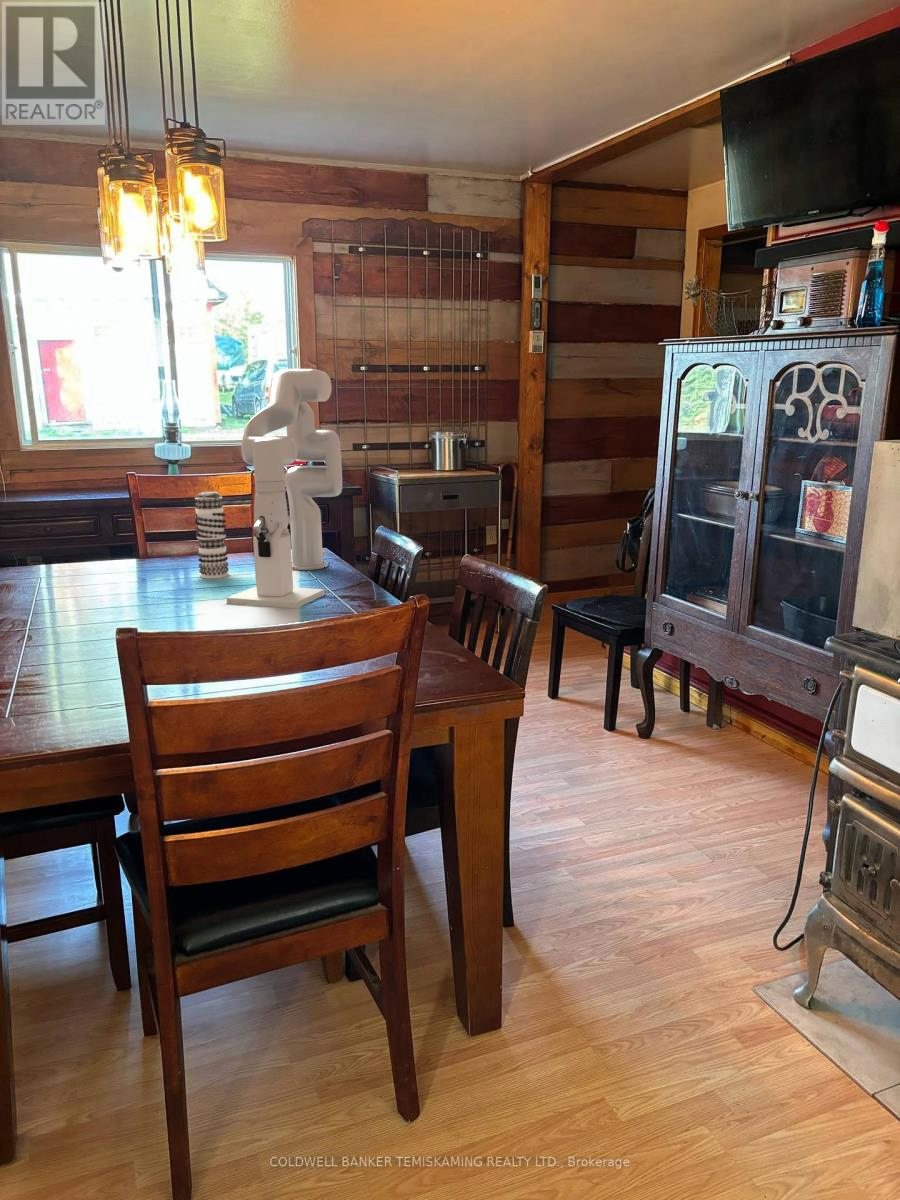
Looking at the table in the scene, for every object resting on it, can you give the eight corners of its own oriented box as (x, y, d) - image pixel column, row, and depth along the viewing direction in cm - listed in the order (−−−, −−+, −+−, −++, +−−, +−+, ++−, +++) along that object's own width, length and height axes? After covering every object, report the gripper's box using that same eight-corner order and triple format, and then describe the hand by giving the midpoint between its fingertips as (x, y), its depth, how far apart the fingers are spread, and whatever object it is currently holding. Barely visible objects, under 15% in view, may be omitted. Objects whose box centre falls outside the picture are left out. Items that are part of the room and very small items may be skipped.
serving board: (258, 590, 226) (258, 585, 226) (324, 594, 220) (324, 589, 220) (226, 603, 211) (226, 597, 211) (296, 608, 205) (295, 602, 205)
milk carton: (281, 597, 211) (277, 524, 207) (256, 596, 213) (252, 523, 208) (293, 591, 218) (289, 520, 213) (269, 590, 220) (264, 519, 215)
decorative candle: (229, 571, 253) (223, 490, 247) (231, 577, 244) (225, 493, 239) (198, 573, 250) (191, 491, 244) (199, 579, 242) (192, 494, 236)
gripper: (274, 483, 218) (278, 546, 223) (239, 491, 202) (244, 559, 207) (299, 484, 216) (302, 548, 220) (266, 492, 200) (270, 560, 204)
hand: (274, 553), depth 214 cm, fingers open, 9 cm apart
